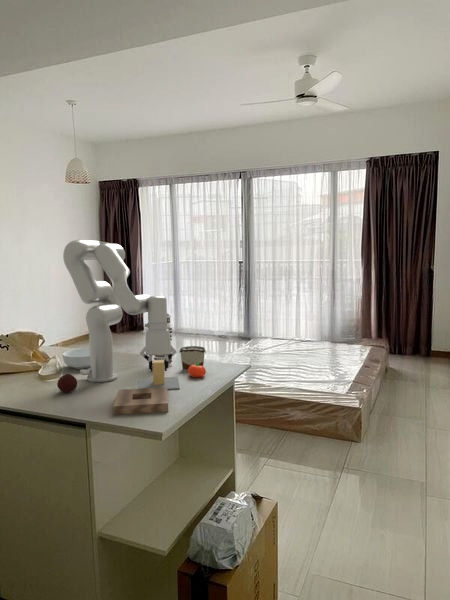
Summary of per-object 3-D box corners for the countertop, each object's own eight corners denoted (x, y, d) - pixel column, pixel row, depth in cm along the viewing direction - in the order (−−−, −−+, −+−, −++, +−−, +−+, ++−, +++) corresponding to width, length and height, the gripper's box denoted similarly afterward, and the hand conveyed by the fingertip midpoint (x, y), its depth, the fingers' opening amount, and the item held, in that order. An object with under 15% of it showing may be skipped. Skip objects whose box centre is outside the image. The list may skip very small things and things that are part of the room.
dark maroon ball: (56, 396, 165) (55, 378, 164) (58, 389, 173) (57, 372, 172) (77, 394, 167) (76, 376, 166) (78, 388, 175) (77, 371, 174)
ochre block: (153, 385, 176) (152, 363, 175) (153, 381, 181) (152, 360, 180) (164, 384, 177) (164, 362, 176) (164, 381, 181) (164, 360, 180)
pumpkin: (194, 374, 195) (195, 360, 195) (208, 377, 190) (209, 363, 190) (183, 376, 190) (184, 361, 190) (197, 379, 185) (198, 364, 185)
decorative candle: (150, 363, 213) (149, 312, 210) (168, 361, 217) (167, 311, 214) (157, 368, 204) (155, 315, 202) (175, 365, 209) (174, 313, 206)
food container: (207, 366, 206) (207, 346, 205) (206, 370, 200) (205, 348, 199) (182, 366, 208) (181, 345, 206) (179, 369, 201) (179, 348, 200)
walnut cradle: (113, 415, 145) (113, 406, 145) (118, 397, 163) (118, 389, 163) (168, 411, 148) (168, 403, 148) (167, 394, 166) (167, 387, 165)
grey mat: (138, 391, 170) (138, 390, 170) (139, 379, 186) (139, 378, 186) (179, 389, 172) (179, 387, 172) (177, 378, 188) (177, 376, 188)
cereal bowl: (55, 370, 203) (54, 355, 202) (77, 361, 218) (76, 347, 218) (87, 372, 198) (86, 357, 197) (107, 363, 213) (106, 349, 213)
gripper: (135, 328, 171) (136, 374, 173) (179, 327, 174) (180, 372, 176) (136, 325, 179) (137, 369, 181) (178, 324, 181) (179, 367, 183)
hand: (158, 370), depth 178 cm, fingers open, 5 cm apart
